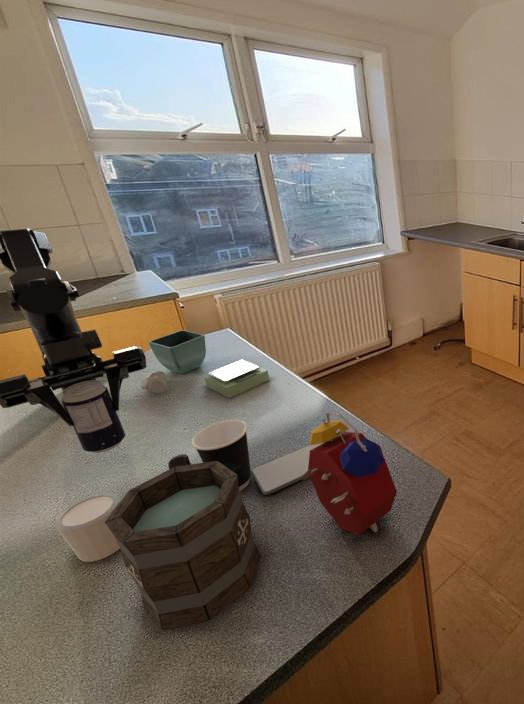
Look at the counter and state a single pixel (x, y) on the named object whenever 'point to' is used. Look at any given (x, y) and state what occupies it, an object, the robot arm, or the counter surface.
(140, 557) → the mug
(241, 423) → the dixie cup
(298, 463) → the smartphone
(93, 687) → the counter surface
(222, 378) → the pan
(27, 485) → the counter surface
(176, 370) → the flower pot
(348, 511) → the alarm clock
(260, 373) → the scale
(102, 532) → the white tapered cup
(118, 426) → the beverage can
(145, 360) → the robot arm
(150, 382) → the pale two-lobed sculpture
